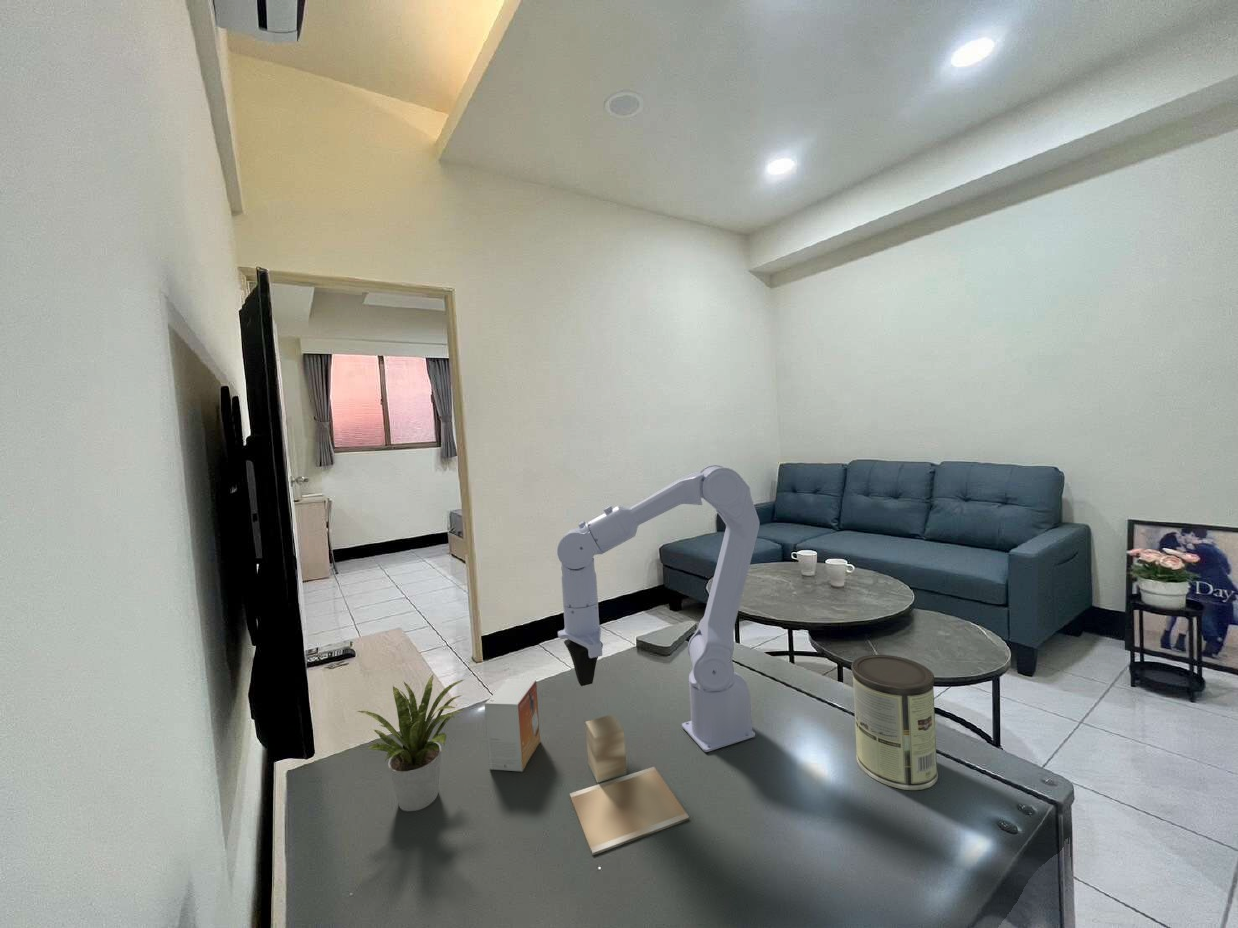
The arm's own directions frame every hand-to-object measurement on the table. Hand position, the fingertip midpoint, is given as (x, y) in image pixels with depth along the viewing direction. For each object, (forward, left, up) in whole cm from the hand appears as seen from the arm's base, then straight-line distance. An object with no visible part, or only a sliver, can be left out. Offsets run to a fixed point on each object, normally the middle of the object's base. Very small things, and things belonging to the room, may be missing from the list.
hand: (585, 683), depth 80 cm
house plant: (+25, +3, -10) cm, 27 cm away
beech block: (0, +9, -9) cm, 13 cm away
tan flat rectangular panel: (0, +17, -9) cm, 19 cm away
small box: (+12, -1, -10) cm, 15 cm away
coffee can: (-38, +26, -10) cm, 47 cm away
